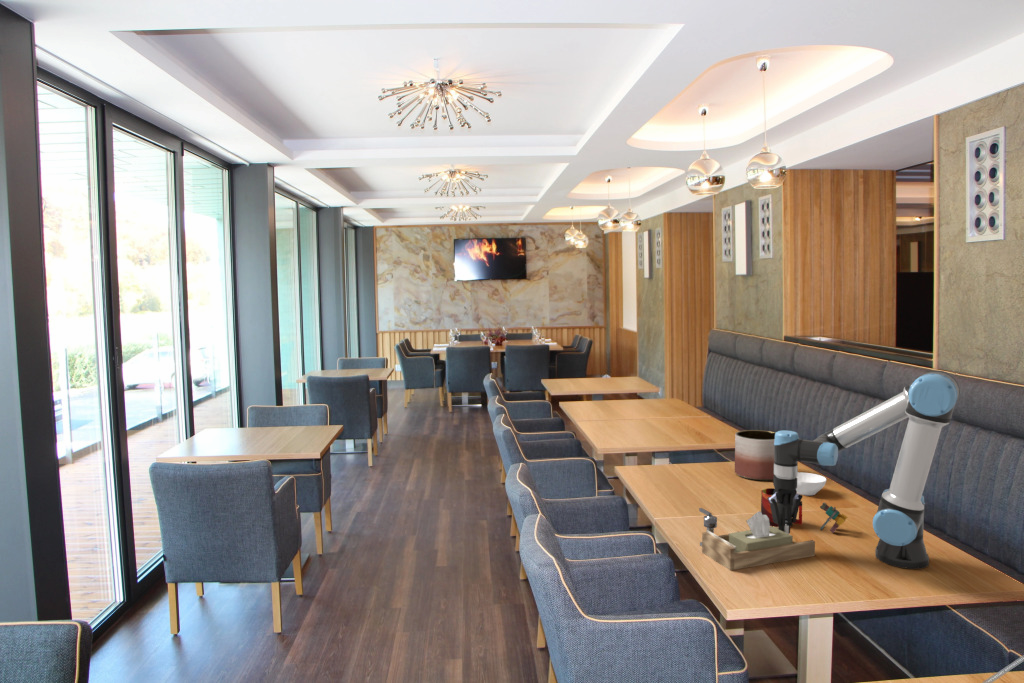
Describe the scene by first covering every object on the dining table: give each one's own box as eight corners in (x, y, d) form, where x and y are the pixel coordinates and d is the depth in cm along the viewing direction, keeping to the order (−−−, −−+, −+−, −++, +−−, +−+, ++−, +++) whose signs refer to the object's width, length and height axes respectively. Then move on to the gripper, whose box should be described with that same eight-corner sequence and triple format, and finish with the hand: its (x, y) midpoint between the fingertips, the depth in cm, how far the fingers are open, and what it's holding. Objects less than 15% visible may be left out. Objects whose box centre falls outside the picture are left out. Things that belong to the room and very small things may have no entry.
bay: (814, 555, 218) (815, 533, 218) (730, 570, 208) (730, 547, 208) (782, 539, 233) (782, 518, 232) (702, 552, 223) (702, 530, 222)
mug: (802, 527, 244) (803, 496, 243) (764, 526, 246) (764, 495, 245) (795, 518, 254) (795, 488, 253) (758, 517, 256) (758, 488, 255)
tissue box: (772, 548, 226) (773, 504, 225) (793, 559, 217) (794, 513, 216) (727, 556, 220) (728, 510, 219) (746, 567, 211) (747, 520, 210)
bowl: (831, 499, 276) (831, 483, 276) (791, 498, 279) (792, 482, 278) (819, 488, 292) (820, 472, 292) (782, 487, 295) (782, 471, 294)
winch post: (720, 548, 226) (720, 514, 225) (708, 550, 224) (708, 516, 223) (706, 539, 234) (706, 507, 233) (694, 541, 232) (694, 508, 232)
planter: (770, 468, 325) (770, 429, 324) (792, 481, 303) (792, 438, 302) (727, 470, 324) (727, 430, 323) (746, 482, 302) (746, 440, 301)
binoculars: (828, 540, 237) (845, 520, 233) (806, 522, 241) (822, 503, 237) (834, 532, 244) (850, 513, 241) (812, 515, 249) (828, 496, 245)
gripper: (793, 471, 228) (791, 536, 230) (762, 475, 224) (761, 541, 226) (808, 477, 221) (807, 544, 223) (777, 481, 217) (775, 549, 219)
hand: (784, 542), depth 224 cm, fingers closed
